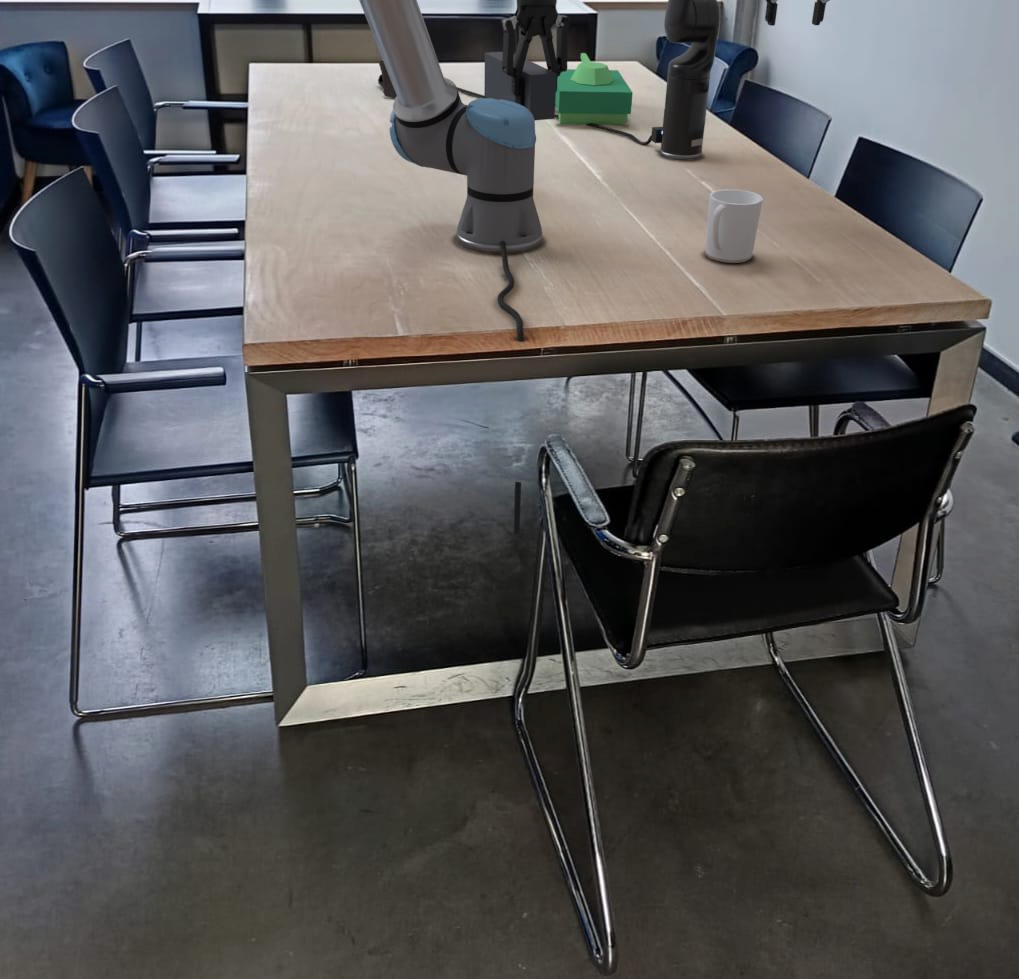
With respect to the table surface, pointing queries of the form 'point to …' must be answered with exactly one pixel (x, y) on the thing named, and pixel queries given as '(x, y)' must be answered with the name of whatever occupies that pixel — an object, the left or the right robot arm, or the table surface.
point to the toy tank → (592, 95)
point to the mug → (732, 225)
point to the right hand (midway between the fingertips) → (793, 24)
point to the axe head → (386, 82)
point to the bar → (536, 86)
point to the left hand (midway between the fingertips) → (533, 110)
